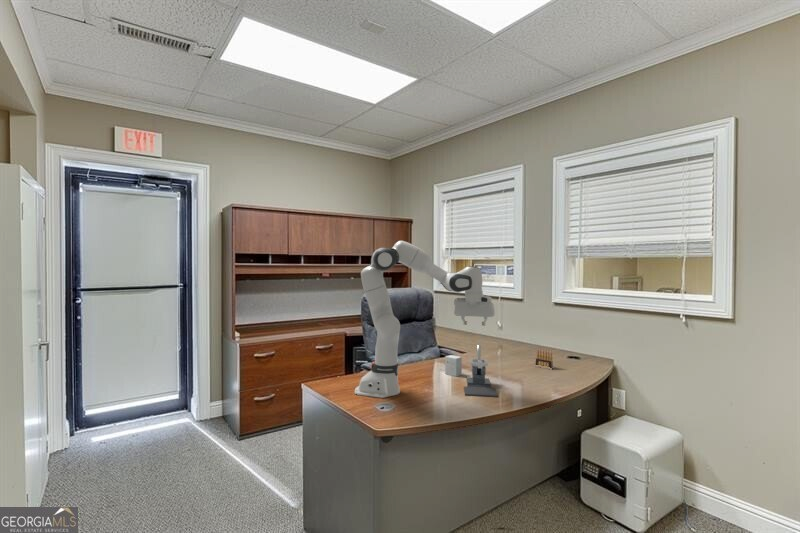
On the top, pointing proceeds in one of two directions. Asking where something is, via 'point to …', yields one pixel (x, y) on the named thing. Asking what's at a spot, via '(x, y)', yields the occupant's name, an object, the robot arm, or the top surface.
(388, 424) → the top surface
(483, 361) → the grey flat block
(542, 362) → the ammunition clip
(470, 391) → the pad
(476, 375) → the vise
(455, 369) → the small box
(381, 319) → the robot arm
